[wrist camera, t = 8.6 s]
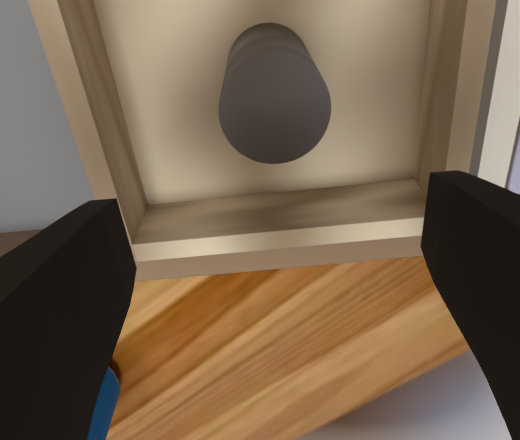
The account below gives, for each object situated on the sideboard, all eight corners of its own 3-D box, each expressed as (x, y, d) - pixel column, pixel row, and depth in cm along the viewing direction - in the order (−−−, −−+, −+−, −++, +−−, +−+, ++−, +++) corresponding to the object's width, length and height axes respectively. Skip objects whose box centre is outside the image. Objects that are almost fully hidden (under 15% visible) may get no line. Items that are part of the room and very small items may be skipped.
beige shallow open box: (464, -166, 13) (589, -231, 8) (426, 187, 20) (485, 268, 15) (42, -113, 14) (-73, -145, 9) (137, 215, 20) (100, 302, 15)
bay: (555, -237, 13) (690, -319, 9) (477, 200, 21) (531, 262, 17) (-273, -128, 14) (-483, -158, 10) (-53, 251, 22) (-122, 320, 18)
